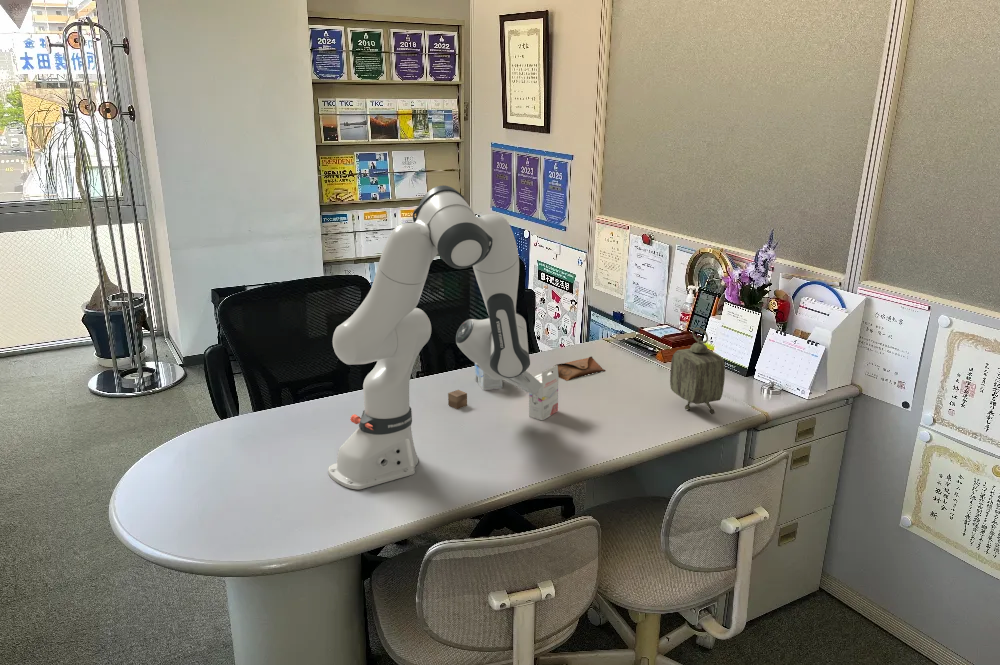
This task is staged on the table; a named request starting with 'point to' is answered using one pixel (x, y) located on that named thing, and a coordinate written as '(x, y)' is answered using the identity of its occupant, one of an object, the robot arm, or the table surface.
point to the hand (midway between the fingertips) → (526, 388)
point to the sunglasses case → (578, 368)
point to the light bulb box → (486, 380)
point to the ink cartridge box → (545, 395)
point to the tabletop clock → (697, 374)
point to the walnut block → (457, 399)
